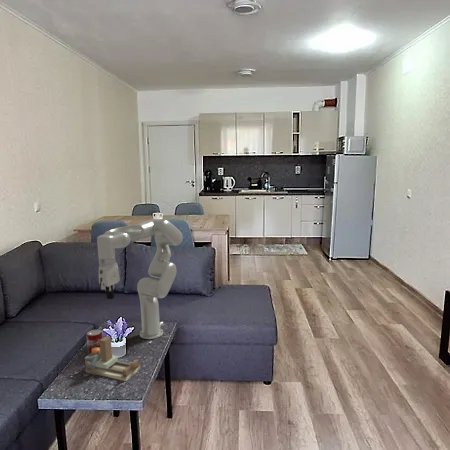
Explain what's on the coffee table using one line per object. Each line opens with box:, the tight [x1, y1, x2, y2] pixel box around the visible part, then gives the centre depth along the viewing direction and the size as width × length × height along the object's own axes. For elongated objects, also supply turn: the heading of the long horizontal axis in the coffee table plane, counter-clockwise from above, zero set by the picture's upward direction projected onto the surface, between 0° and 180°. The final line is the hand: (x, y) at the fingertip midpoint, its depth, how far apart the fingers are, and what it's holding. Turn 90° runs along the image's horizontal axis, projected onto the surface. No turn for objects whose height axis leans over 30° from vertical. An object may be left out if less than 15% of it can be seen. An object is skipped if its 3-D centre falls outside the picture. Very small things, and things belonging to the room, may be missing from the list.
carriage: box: [96, 336, 119, 369], centre depth 180 cm, size 8×6×12 cm
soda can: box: [86, 329, 104, 355], centre depth 194 cm, size 7×7×12 cm
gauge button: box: [91, 347, 100, 354], centre depth 183 cm, size 4×4×5 cm
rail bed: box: [84, 347, 141, 382], centre depth 180 cm, size 11×22×7 cm, turn 68°
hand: (110, 298), depth 190 cm, fingers closed
